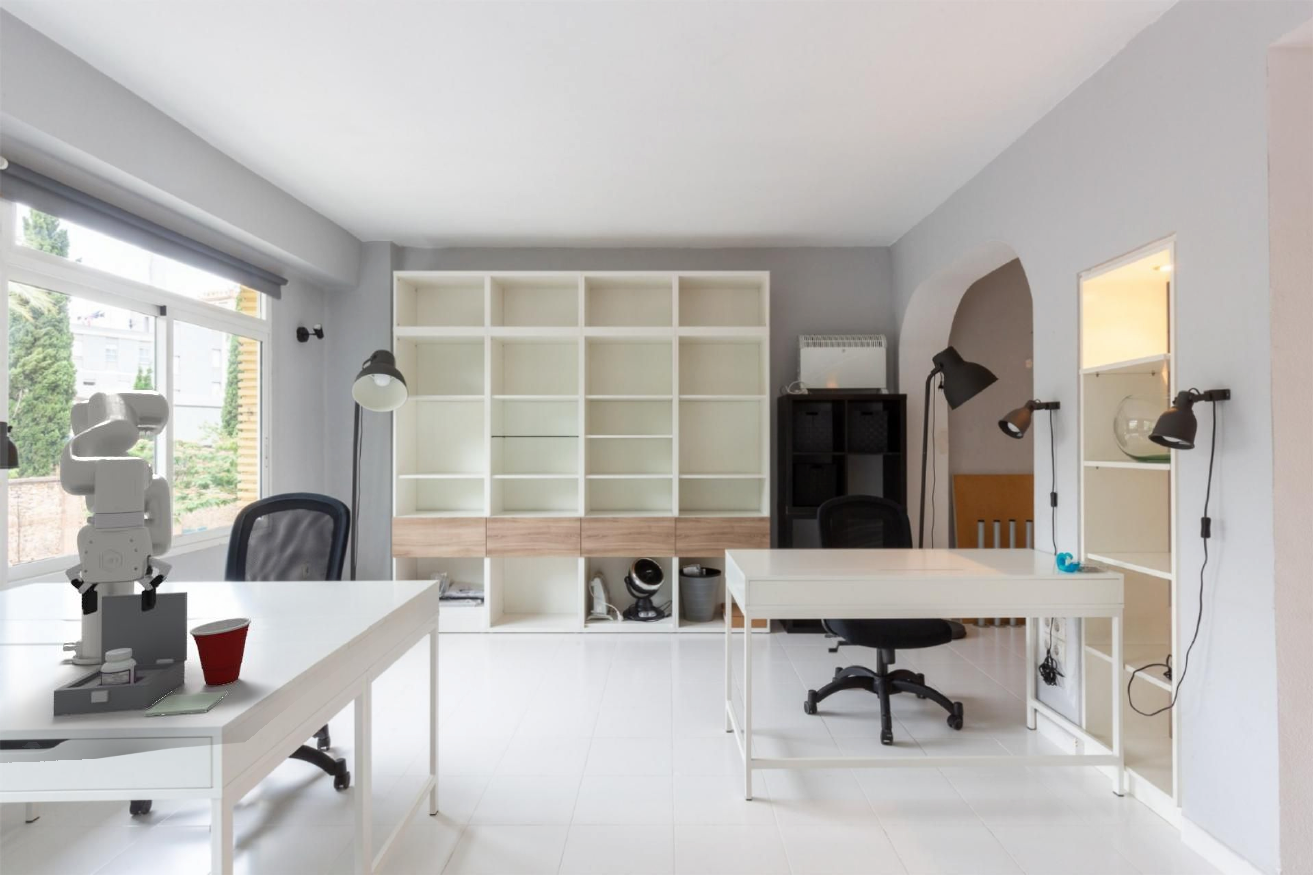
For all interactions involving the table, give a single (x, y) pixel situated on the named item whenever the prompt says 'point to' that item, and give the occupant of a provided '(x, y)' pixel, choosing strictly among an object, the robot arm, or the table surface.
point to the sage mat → (186, 703)
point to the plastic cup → (221, 649)
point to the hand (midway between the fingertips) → (119, 611)
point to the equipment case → (133, 655)
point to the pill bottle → (119, 668)
